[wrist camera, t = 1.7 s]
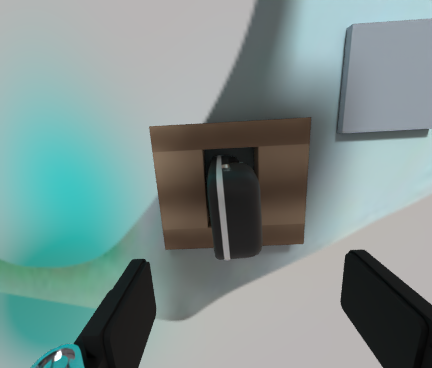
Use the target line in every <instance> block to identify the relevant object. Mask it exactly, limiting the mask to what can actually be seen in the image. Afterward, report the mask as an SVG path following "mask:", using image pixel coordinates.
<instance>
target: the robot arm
mask: <svg viewBox="0 0 432 368" xmlns="http://www.w3.org/2000/svg"><path fill="white" fill-rule="evenodd" d="M341 306H342V309H343V310H344V312H345V313H346V314H347V316H348V318H349V319H350V321H351V322H352V323H353V325H354V326H355V327H356V329H357V331H358V332H359V333H360V335H361V336H362V338H363V339H364V341H365V342H366V343H367V345H368V347H369V348H370V349H371V351H372V352H373V353H374V355H375V357H376V358H377V359H378V361H379V362H380V364H381V365H382V367H383V368H432V305H431V304H430V303H429V302H427V301H426V300H425V299H424V298H422V297H421V296H420V295H419V294H418V293H417V292H415V291H414V290H413V289H412V288H410V287H409V286H408V285H407V284H406V283H404V282H403V281H402V280H401V279H399V278H398V277H397V276H396V275H395V274H393V273H392V272H391V271H390V270H389V269H387V268H386V267H385V266H384V265H382V264H381V263H380V262H379V261H378V260H376V259H375V258H373V256H371V255H370V254H369V253H368V252H366V251H365V250H350V251H349V253H348V254H346V255H345V263H344V272H343V282H342V292H341ZM155 316H156V303H155V296H154V289H153V283H152V276H151V269H150V263H149V262H146V260H145V259H133V260H132V261H131V262H130V263H129V265H128V266H127V268H126V269H125V271H124V273H123V274H122V276H121V277H120V279H119V280H118V282H117V283H116V285H115V286H114V288H113V289H112V290H110V291H109V292H108V293H107V295H106V296H105V298H104V299H103V301H102V302H101V304H100V305H99V307H98V308H97V310H96V311H95V313H94V314H93V316H92V317H91V319H90V320H89V322H88V323H87V325H86V326H85V327H84V329H83V330H82V332H81V334H80V335H79V336H78V338H77V339H76V341H75V342H74V344H64V345H60V346H58V347H56V348H53V349H51V350H50V351H48V352H47V353H45V354H44V355H43V356H41V357H40V358H39V359H38V360H37V361H36V362H35V363H34V364H33V365H32V366H31V368H138V367H139V364H140V361H141V358H142V355H143V352H144V349H145V346H146V343H147V340H148V337H149V334H150V331H151V328H152V325H153V322H154V319H155Z"/></svg>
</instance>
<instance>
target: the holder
mask: <svg viewBox="0 0 432 368" xmlns="http://www.w3.org/2000/svg"><path fill="white" fill-rule="evenodd" d="M149 128H150V136H151V144H152V152H153V159H154V167H155V174H156V182H157V189H158V197H159V204H160V212H161V220H162V227H163V235H164V242H165V250H171V249H195V248H214V244H213V236H212V227H211V219H210V217H209V210H208V195H207V180H206V166H205V151H204V149H223V148H242V147H254V173H255V174H256V176H257V179H258V181H259V185H260V196H261V216H262V238H263V245H262V246H267V245H291V244H303V243H304V227H305V210H306V194H307V177H308V161H309V145H310V128H311V117H308V118H291V119H273V120H256V121H238V122H220V123H203V124H186V125H168V126H150V127H149Z"/></svg>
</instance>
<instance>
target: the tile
mask: <svg viewBox="0 0 432 368" xmlns="http://www.w3.org/2000/svg"><path fill="white" fill-rule="evenodd" d="M413 129H432V19H419V20H404V21H389V22H375V23H360V24H352V25H351V26H350V27H348V28H347V34H346V45H345V56H344V66H343V77H342V88H341V99H340V109H339V120H338V131H337V133H358V132H377V131H395V130H413Z"/></svg>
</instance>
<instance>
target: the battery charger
mask: <svg viewBox="0 0 432 368" xmlns="http://www.w3.org/2000/svg"><path fill="white" fill-rule="evenodd" d="M207 190H208V201H209V210H210V219H211V227H212V236H213V244H214V251H215V256H216V258H217V259H219V260H223V259H225V261H227V260H230V259H236V258H248V257H253V256H255V255H257V254H258V253H259V252H260V251H261V248H262V245H263V238H262V216H261V196H260V185H259V181H258V179H257V176H256V174H255V173H254V171H253V169H252V168H251V167H250V166H249V165H248V164H246V163H239V160H238V159H237V158H236V157H234V156H228V155H224V156H221V155H217V156H215V157H212V160H211V164H210V168H209V172H208V179H207Z"/></svg>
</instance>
